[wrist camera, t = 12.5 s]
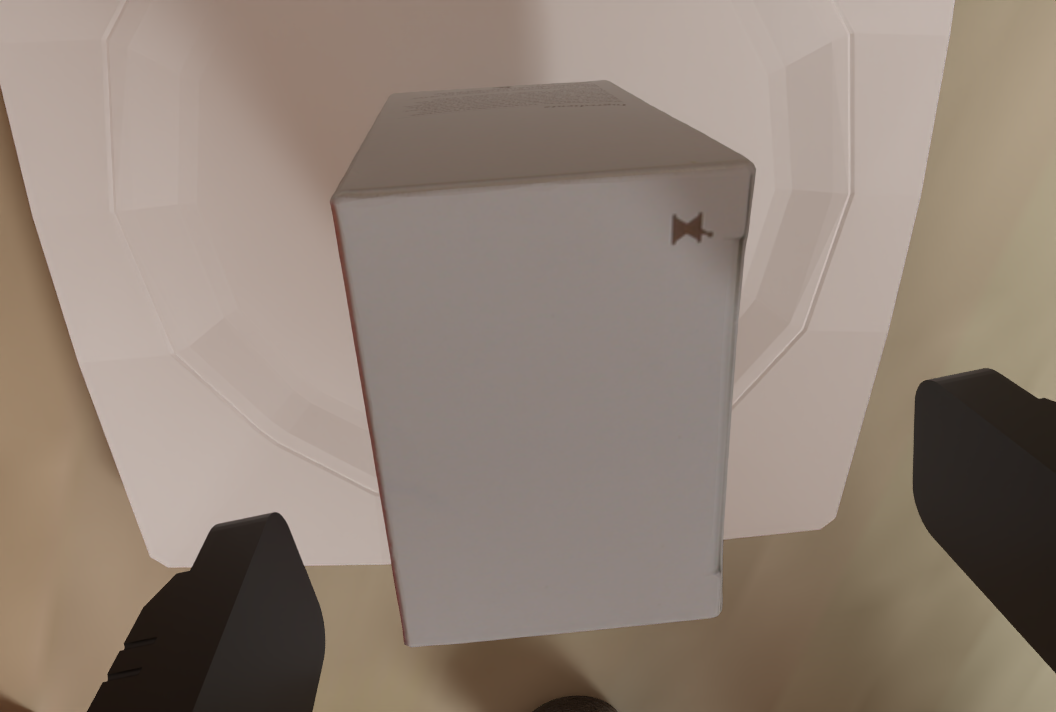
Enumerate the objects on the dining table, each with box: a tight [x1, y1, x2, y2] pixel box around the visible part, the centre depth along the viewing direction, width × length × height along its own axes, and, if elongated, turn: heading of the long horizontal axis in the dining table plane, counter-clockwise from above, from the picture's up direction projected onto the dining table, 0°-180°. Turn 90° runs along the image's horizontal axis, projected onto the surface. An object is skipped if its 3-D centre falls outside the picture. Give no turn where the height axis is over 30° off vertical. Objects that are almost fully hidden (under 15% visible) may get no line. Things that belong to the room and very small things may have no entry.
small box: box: [330, 80, 756, 647], centre depth 16 cm, size 8×6×10 cm
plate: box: [0, 0, 955, 567], centre depth 22 cm, size 24×24×3 cm
